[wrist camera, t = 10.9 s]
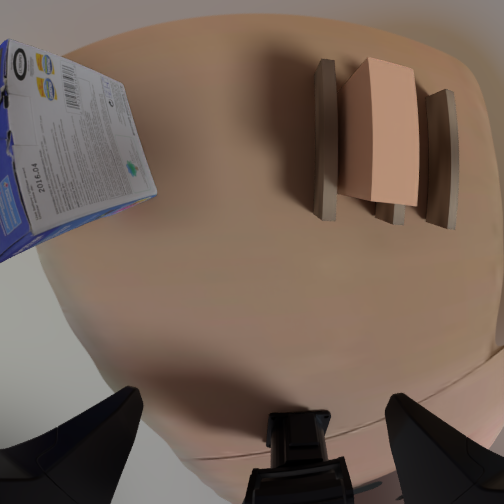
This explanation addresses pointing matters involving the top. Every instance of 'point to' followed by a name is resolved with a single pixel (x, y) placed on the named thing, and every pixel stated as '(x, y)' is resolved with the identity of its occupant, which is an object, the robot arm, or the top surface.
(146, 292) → the top surface
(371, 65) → the terracotta block
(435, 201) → the slot rack
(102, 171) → the ink cartridge box
